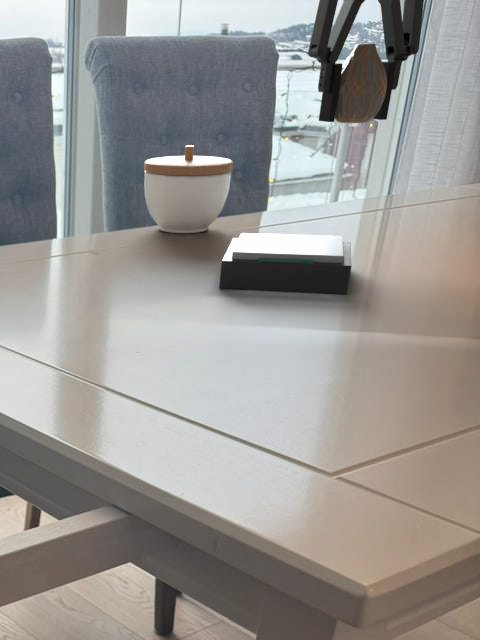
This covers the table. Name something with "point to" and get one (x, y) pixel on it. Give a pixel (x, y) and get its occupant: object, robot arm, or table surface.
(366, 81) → the vase
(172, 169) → the lidded bowl
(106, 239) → the table surface
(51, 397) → the table surface
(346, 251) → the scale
